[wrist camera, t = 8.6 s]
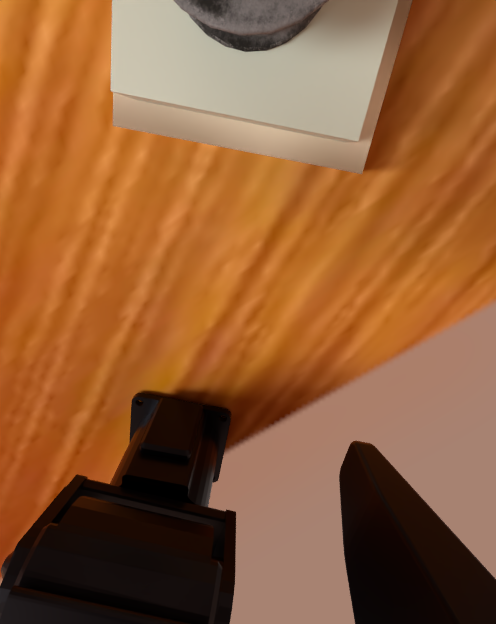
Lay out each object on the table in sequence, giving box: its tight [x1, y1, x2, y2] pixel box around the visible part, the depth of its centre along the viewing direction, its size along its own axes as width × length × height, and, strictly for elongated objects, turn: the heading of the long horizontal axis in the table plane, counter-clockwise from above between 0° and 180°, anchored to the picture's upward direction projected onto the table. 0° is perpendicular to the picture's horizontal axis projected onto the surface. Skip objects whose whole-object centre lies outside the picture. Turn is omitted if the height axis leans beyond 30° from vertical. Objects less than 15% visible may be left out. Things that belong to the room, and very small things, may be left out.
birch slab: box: [113, 0, 412, 174], centre depth 14 cm, size 11×11×2 cm
